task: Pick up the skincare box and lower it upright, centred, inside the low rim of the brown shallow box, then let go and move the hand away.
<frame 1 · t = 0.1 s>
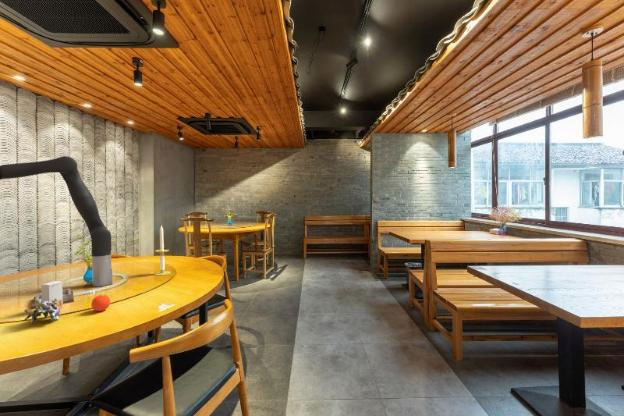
skincare box: (52, 309, 133), on the table
clementine: (102, 310, 131), on the table
passion flower: (43, 322, 118), on the table
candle: (162, 273, 195), on the table
brown shallow box: (53, 300, 144), on the table
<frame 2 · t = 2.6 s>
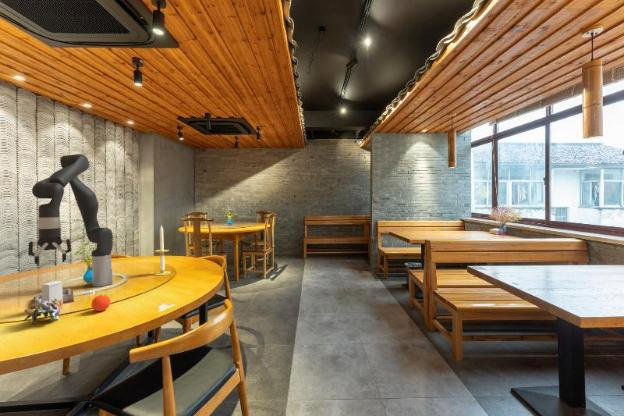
hand: (50, 263, 132), 21 cm above the table, tool pointing down, fingers open, 8 cm apart
nothing on the table moved.
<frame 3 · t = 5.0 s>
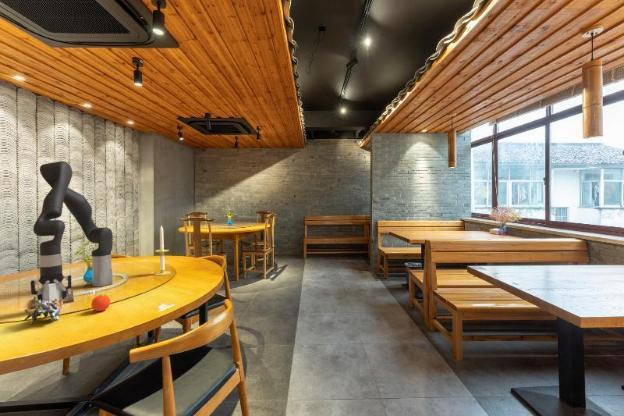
hand: (52, 300, 133), 4 cm above the table, tool pointing down, fingers closed on skincare box, 7 cm apart
skincare box: (52, 309, 133), on the table, touching gripper
everything else where it was.
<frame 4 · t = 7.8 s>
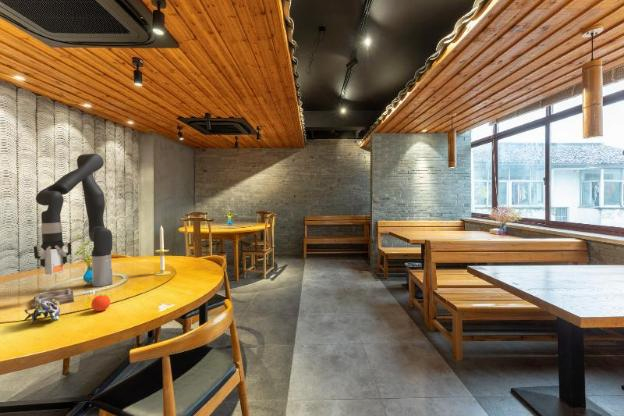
hand: (54, 265, 144), 17 cm above the table, tool pointing down, fingers closed on skincare box, 7 cm apart
skincare box: (54, 273, 144), point 13 cm above the table, touching gripper
everything else where it was.
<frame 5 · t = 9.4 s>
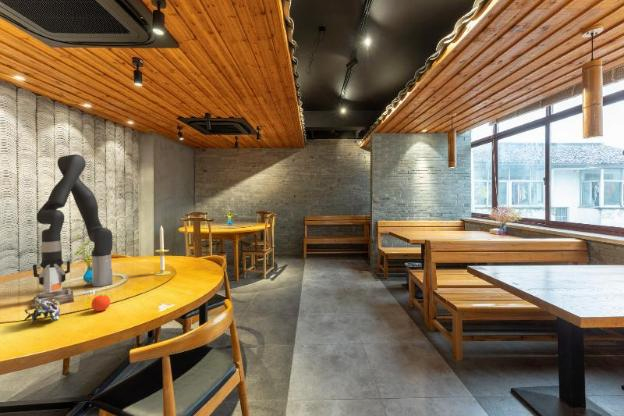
hand: (52, 283, 145), 8 cm above the table, tool pointing down, fingers closed on skincare box, 7 cm apart
skincare box: (53, 291, 146), point 4 cm above the table, touching gripper
everything else where it was.
when the fingers open (6 cm above the table, at t = 10.8 s): skincare box drops 1 cm, resting on brown shallow box.
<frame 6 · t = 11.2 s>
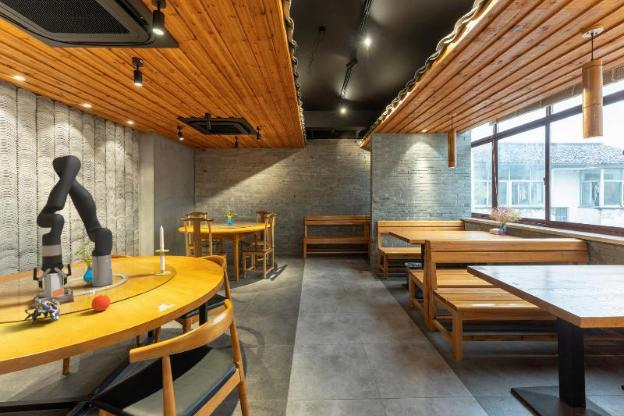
hand: (53, 286, 146), 7 cm above the table, tool pointing down, fingers open, 8 cm apart
skincare box: (54, 297, 146), point 1 cm above the table, touching brown shallow box
everything else where it was.
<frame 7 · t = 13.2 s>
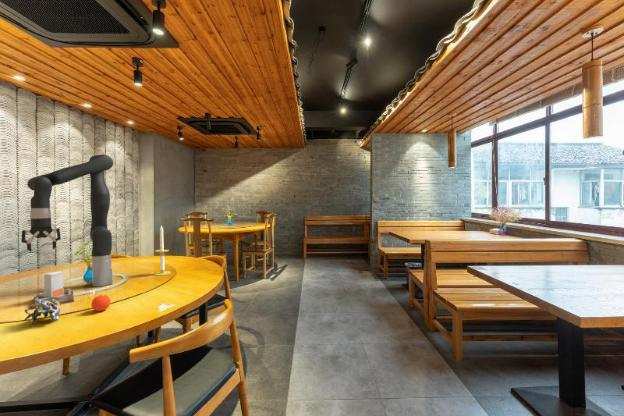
hand: (42, 250, 145), 25 cm above the table, tool pointing down, fingers open, 8 cm apart
nothing on the table moved.
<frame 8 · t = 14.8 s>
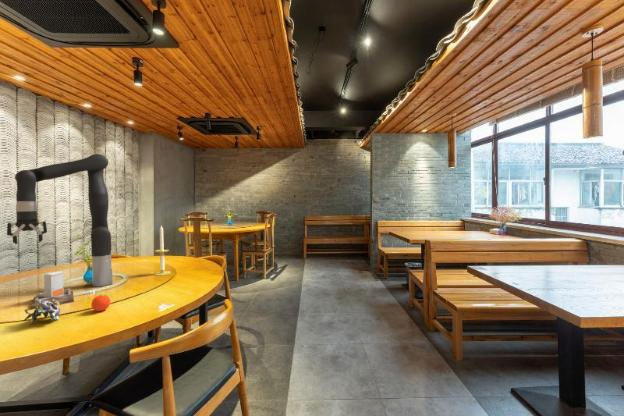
hand: (28, 242, 147), 28 cm above the table, tool pointing down, fingers open, 8 cm apart
nothing on the table moved.
at the end: skincare box 0.3 cm from the target spot on the brown shallow box, point 1.0 cm above the brown shallow box's base; skincare box tilted 0°; the gripper is holding nothing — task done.
